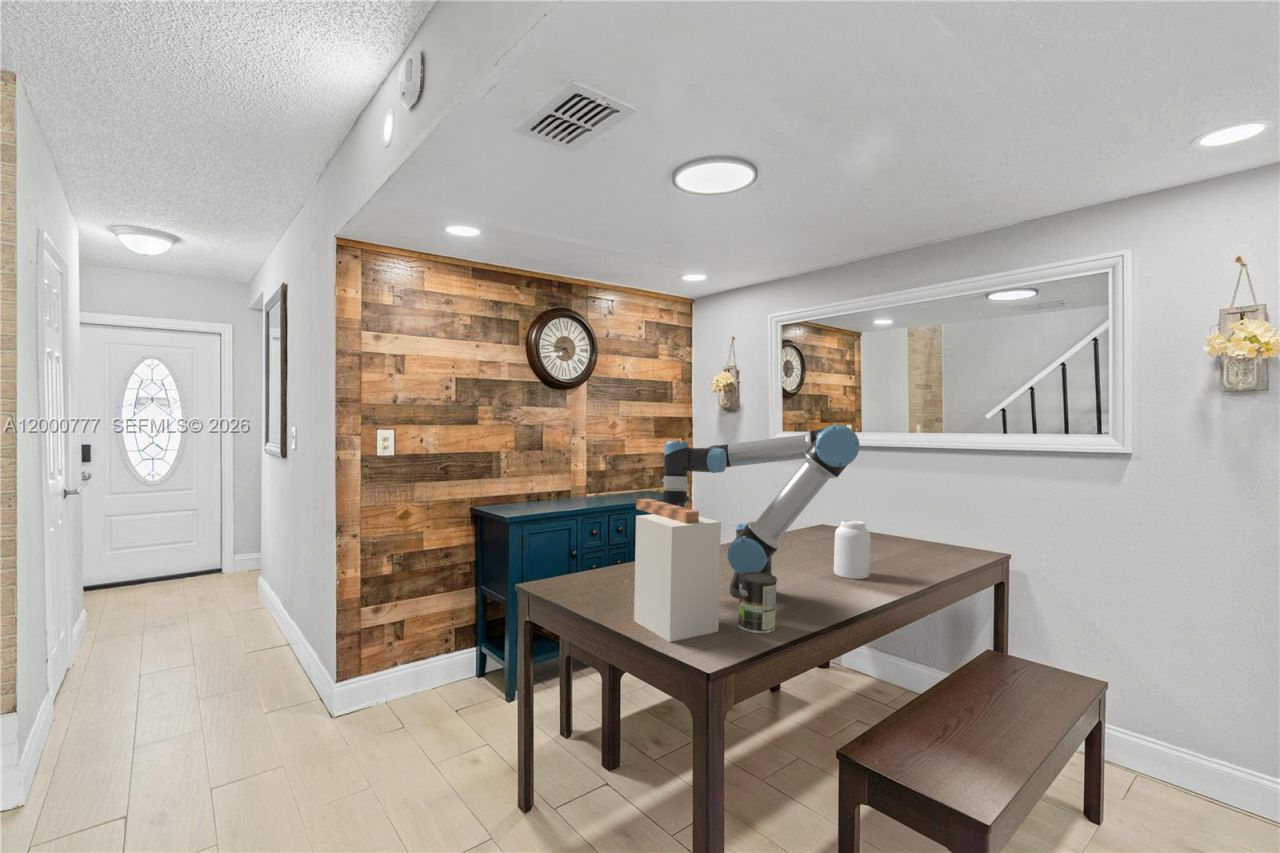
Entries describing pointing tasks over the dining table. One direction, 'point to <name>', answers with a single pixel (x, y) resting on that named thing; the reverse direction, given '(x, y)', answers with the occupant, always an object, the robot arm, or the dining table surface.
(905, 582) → the dining table surface
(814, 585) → the dining table surface
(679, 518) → the bar
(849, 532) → the white jar
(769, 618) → the coffee can
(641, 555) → the pedestal
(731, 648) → the dining table surface
